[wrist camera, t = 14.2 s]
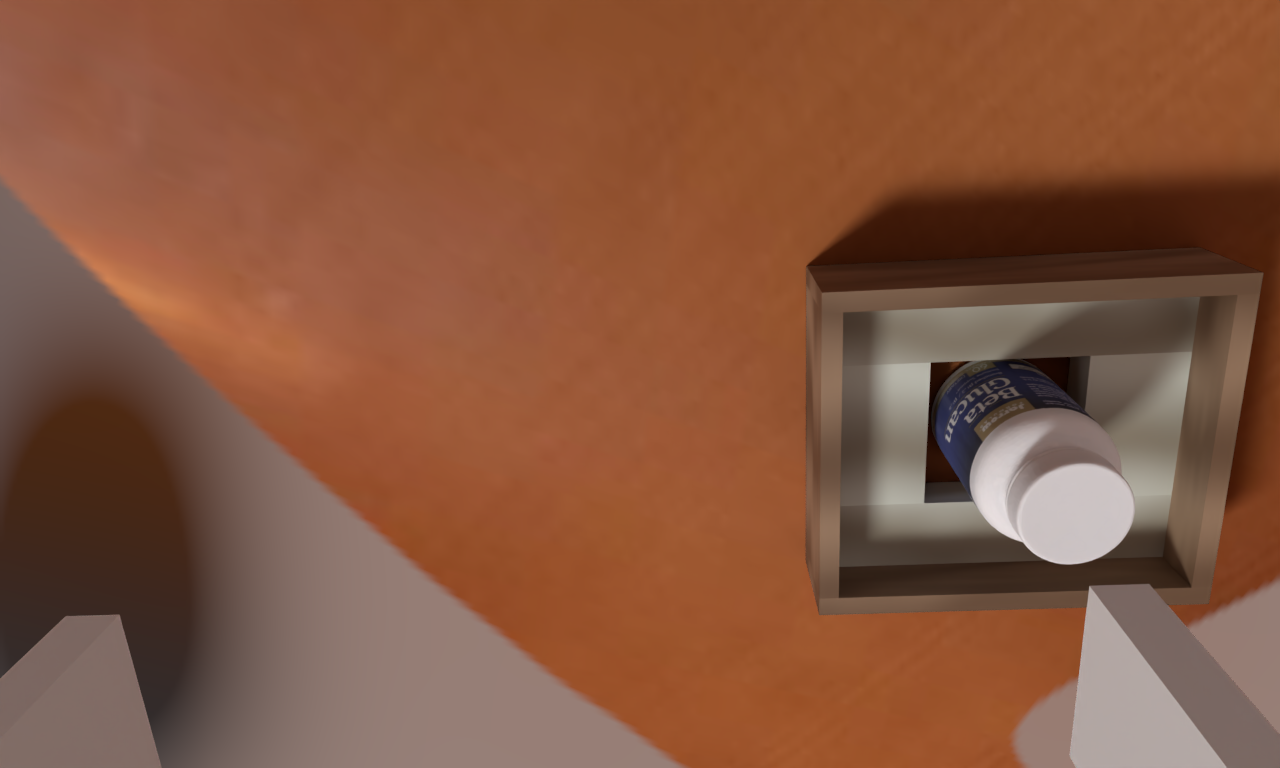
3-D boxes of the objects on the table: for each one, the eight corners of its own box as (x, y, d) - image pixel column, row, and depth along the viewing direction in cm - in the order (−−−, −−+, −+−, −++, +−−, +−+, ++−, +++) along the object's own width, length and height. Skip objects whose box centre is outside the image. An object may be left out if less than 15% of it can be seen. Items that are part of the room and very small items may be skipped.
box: (806, 266, 40) (821, 292, 36) (1200, 247, 39) (1263, 272, 35) (805, 560, 45) (819, 615, 41) (1157, 549, 44) (1208, 603, 40)
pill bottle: (971, 331, 41) (1057, 416, 32) (1078, 385, 42) (1192, 484, 32) (904, 435, 43) (966, 544, 34) (1007, 486, 43) (1096, 606, 34)
